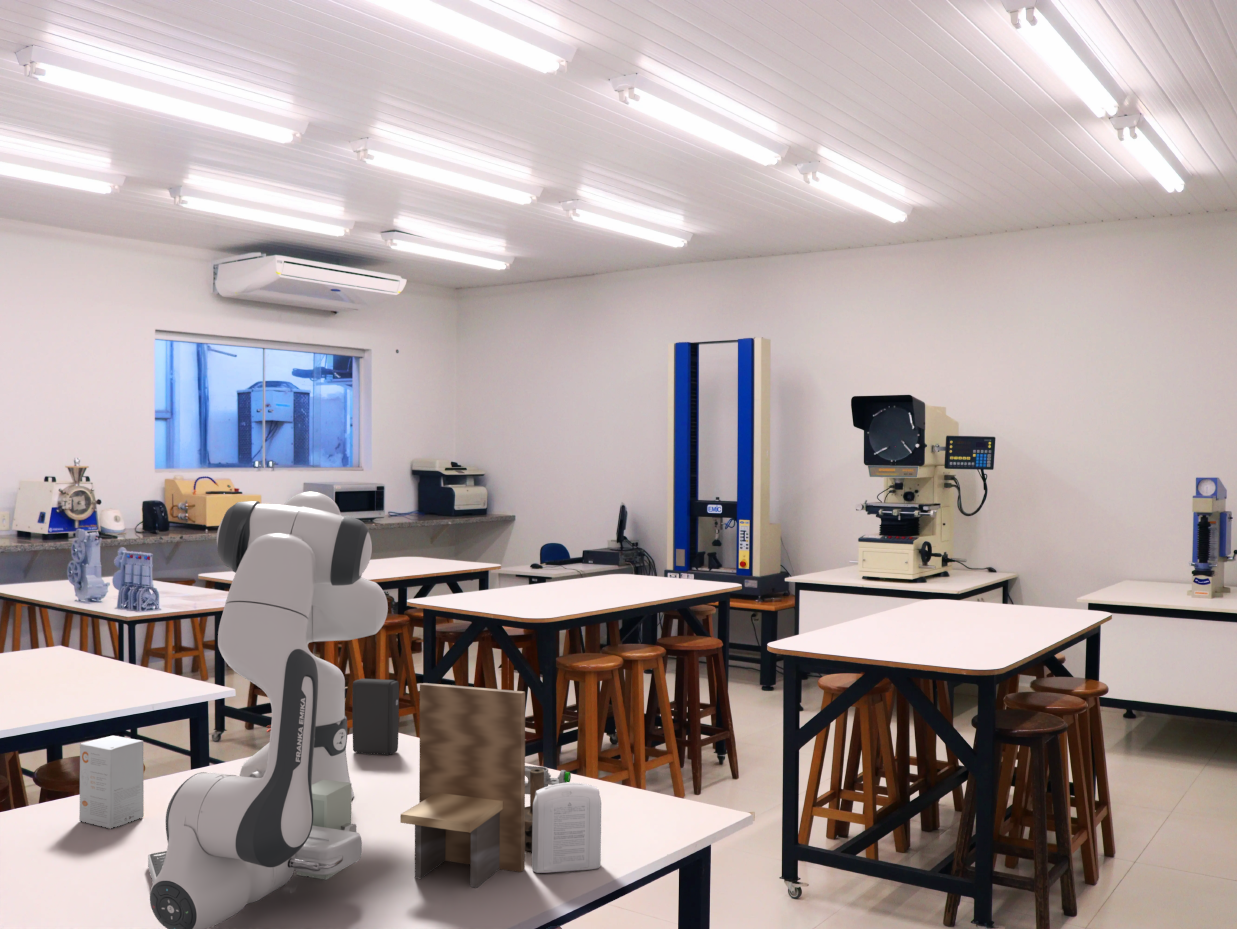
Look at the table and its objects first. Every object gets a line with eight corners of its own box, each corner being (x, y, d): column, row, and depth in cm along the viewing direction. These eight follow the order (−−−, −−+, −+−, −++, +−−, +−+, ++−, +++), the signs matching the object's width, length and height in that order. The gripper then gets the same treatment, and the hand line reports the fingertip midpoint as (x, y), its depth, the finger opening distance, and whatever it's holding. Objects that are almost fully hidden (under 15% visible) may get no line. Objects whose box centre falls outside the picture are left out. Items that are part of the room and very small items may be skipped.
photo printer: (597, 859, 149) (598, 777, 149) (604, 870, 145) (604, 785, 145) (529, 865, 147) (530, 781, 147) (534, 876, 143) (534, 790, 143)
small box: (144, 817, 167) (144, 740, 167) (110, 830, 161) (110, 749, 161) (112, 810, 170) (113, 734, 170) (78, 821, 165) (78, 743, 165)
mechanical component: (567, 836, 159) (567, 773, 159) (505, 831, 161) (505, 769, 161) (571, 829, 161) (571, 768, 162) (511, 825, 164) (511, 764, 164)
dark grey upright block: (401, 751, 206) (401, 679, 206) (393, 756, 202) (393, 683, 203) (359, 748, 208) (360, 677, 208) (351, 754, 204) (351, 681, 204)
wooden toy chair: (381, 882, 141) (382, 698, 141) (423, 853, 151) (423, 682, 151) (489, 900, 135) (489, 708, 135) (524, 869, 145) (525, 691, 146)
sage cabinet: (296, 875, 143) (297, 791, 143) (322, 859, 149) (323, 779, 149) (326, 879, 142) (326, 795, 142) (351, 864, 147) (351, 783, 147)
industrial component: (511, 839, 157) (512, 764, 157) (557, 837, 158) (557, 761, 159) (516, 862, 148) (516, 782, 148) (564, 859, 149) (564, 779, 149)
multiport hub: (155, 897, 137) (155, 880, 137) (147, 869, 146) (147, 853, 146) (190, 890, 139) (190, 874, 139) (180, 863, 148) (180, 848, 148)
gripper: (326, 846, 129) (386, 811, 142) (201, 826, 136) (268, 795, 149) (326, 895, 129) (385, 855, 142) (200, 872, 136) (268, 837, 149)
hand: (325, 824), depth 146 cm, fingers open, 8 cm apart
